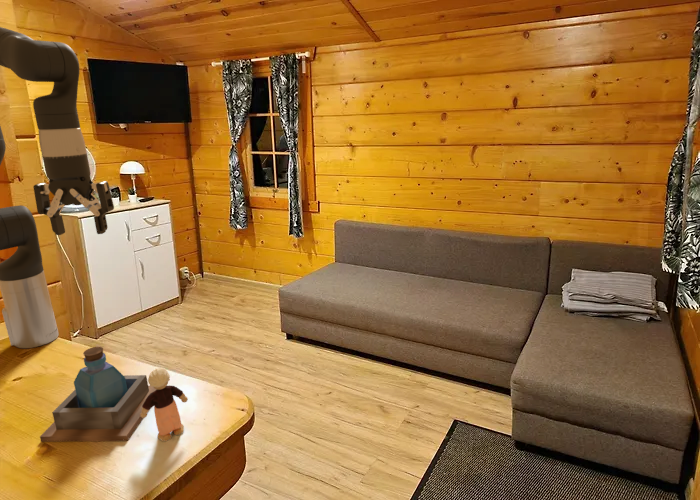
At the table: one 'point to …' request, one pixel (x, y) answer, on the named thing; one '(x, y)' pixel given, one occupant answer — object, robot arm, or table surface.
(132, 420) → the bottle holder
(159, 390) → the grandmother figurine
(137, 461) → the table surface
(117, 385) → the perfume bottle
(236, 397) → the table surface
